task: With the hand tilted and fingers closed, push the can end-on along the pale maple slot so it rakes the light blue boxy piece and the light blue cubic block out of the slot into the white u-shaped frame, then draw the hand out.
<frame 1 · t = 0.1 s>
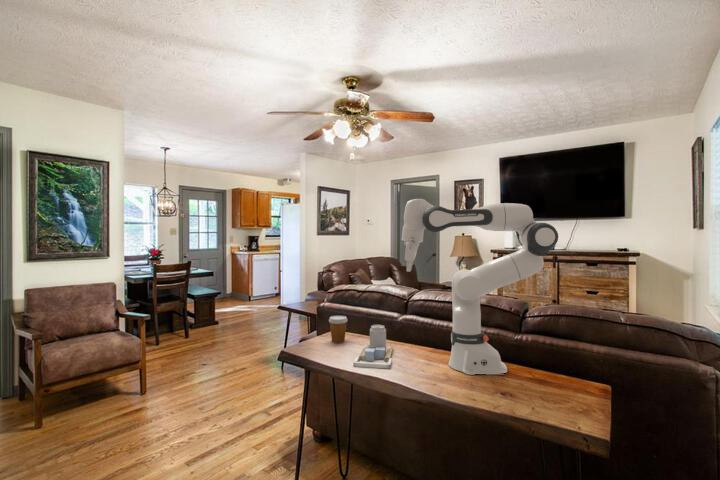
hand: (409, 270, 150), 39 cm above the table, tool pointing down, fingers open, 8 cm apart
white u-shaped frame: (372, 364, 149), on the table
light blue boxy piece: (380, 357, 158), on the table
can: (377, 352, 165), on the table
light blue cubic block: (369, 359, 156), on the table
disposable coffee cup: (338, 341, 181), on the table
slot rails: (376, 354, 161), on the table
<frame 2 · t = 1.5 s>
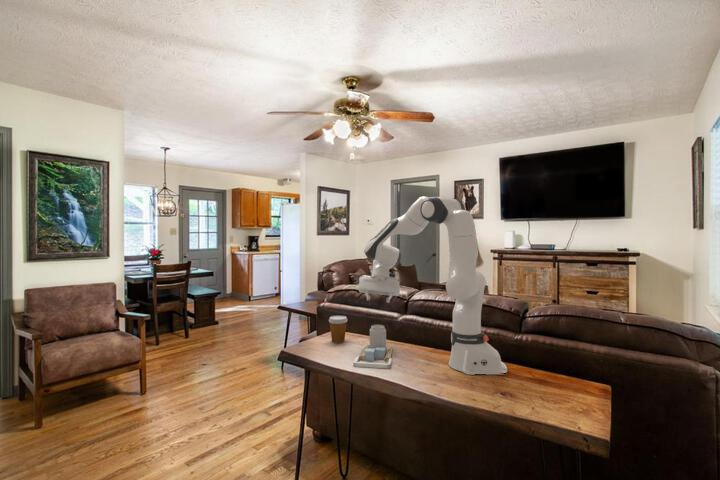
hand: (378, 300, 172), 22 cm above the table, tool tilted 40°, fingers open, 8 cm apart
nothing on the table moved.
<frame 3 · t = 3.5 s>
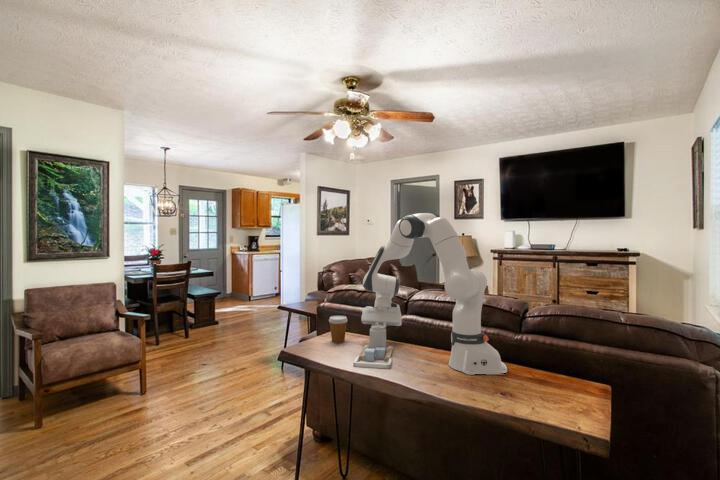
hand: (380, 331, 175), 6 cm above the table, tool tilted 45°, fingers closed
nothing on the table moved.
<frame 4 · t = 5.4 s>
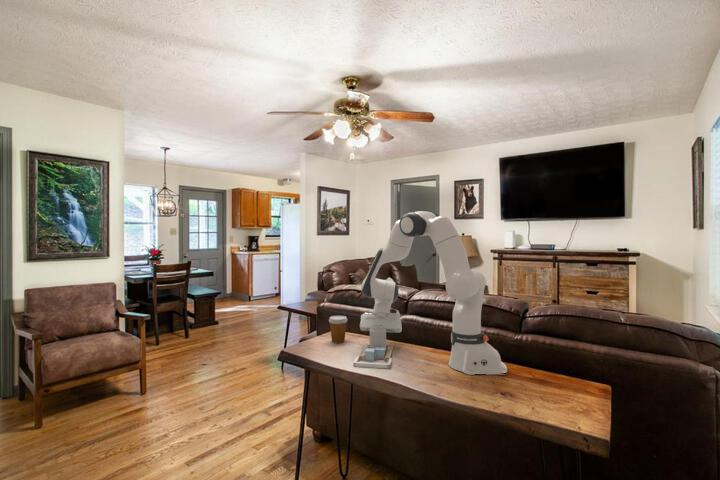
hand: (379, 339, 169), 5 cm above the table, tool tilted 45°, fingers closed, pressing on can
can: (377, 352, 165), on the table, touching gripper
everything else where it was.
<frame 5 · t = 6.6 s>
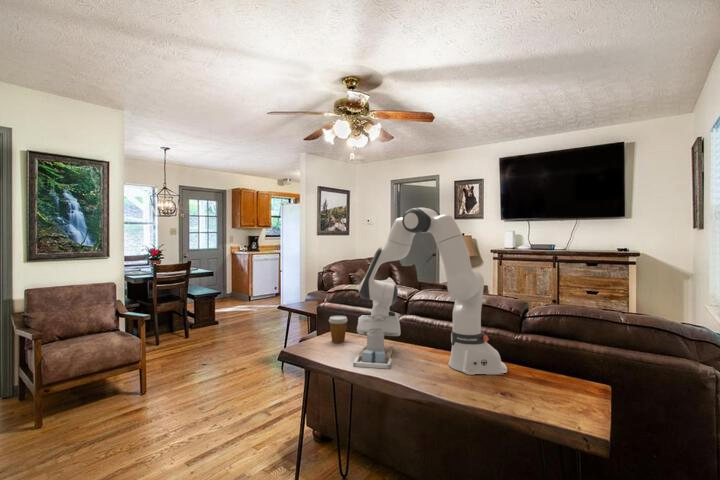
hand: (377, 342, 162), 5 cm above the table, tool tilted 45°, fingers closed, pressing on can
light blue boxy piece: (379, 361, 153), on the table
can: (375, 357, 158), on the table, touching light blue cubic block, gripper
light blue cubic block: (368, 360, 153), on the table, touching can
everything else where it was.
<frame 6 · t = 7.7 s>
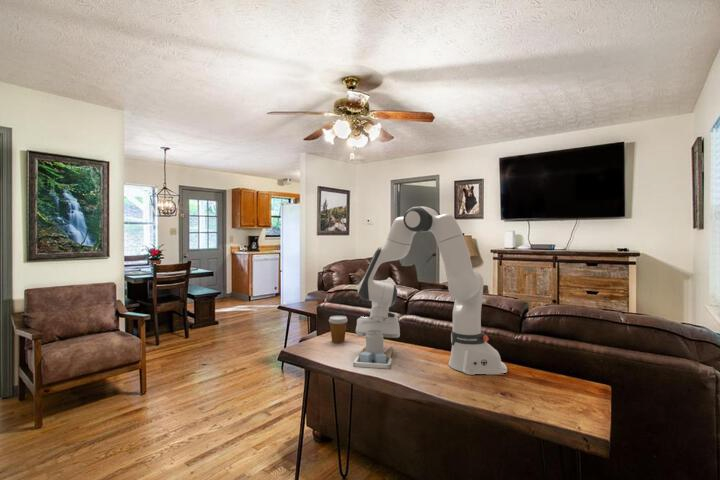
hand: (376, 344, 160), 5 cm above the table, tool tilted 45°, fingers closed, pressing on can
light blue boxy piece: (380, 363, 150), on the table
can: (374, 359, 156), on the table, touching gripper
light blue cubic block: (366, 362, 151), on the table
everything else where it was.
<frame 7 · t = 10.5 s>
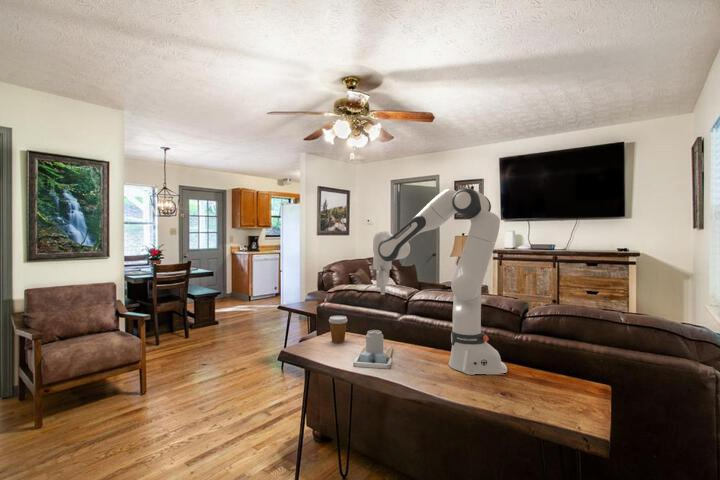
hand: (383, 294, 173), 25 cm above the table, tool pointing down, fingers closed
can: (374, 359, 156), on the table
everything else where it was.
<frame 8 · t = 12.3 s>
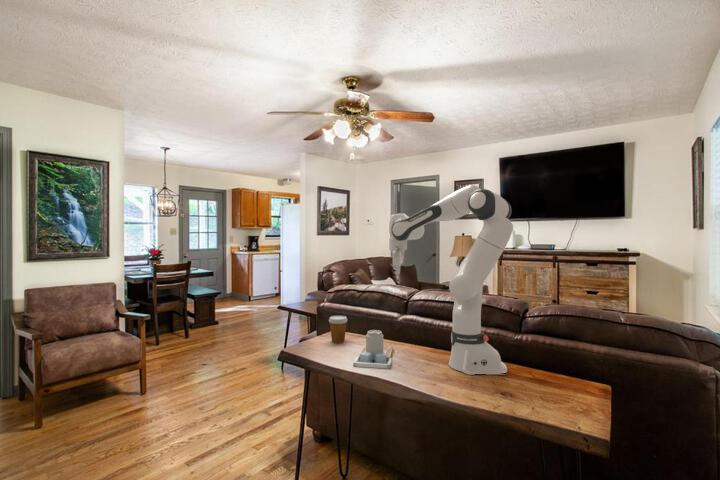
hand: (398, 274, 178), 34 cm above the table, tool pointing down, fingers closed
nothing on the table moved.
at the end: light blue boxy piece inside the target area (3.3 cm from its centre), on the table; light blue cubic block inside the target area (3.1 cm from its centre), on the table; can moved 9.2 cm from its start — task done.
